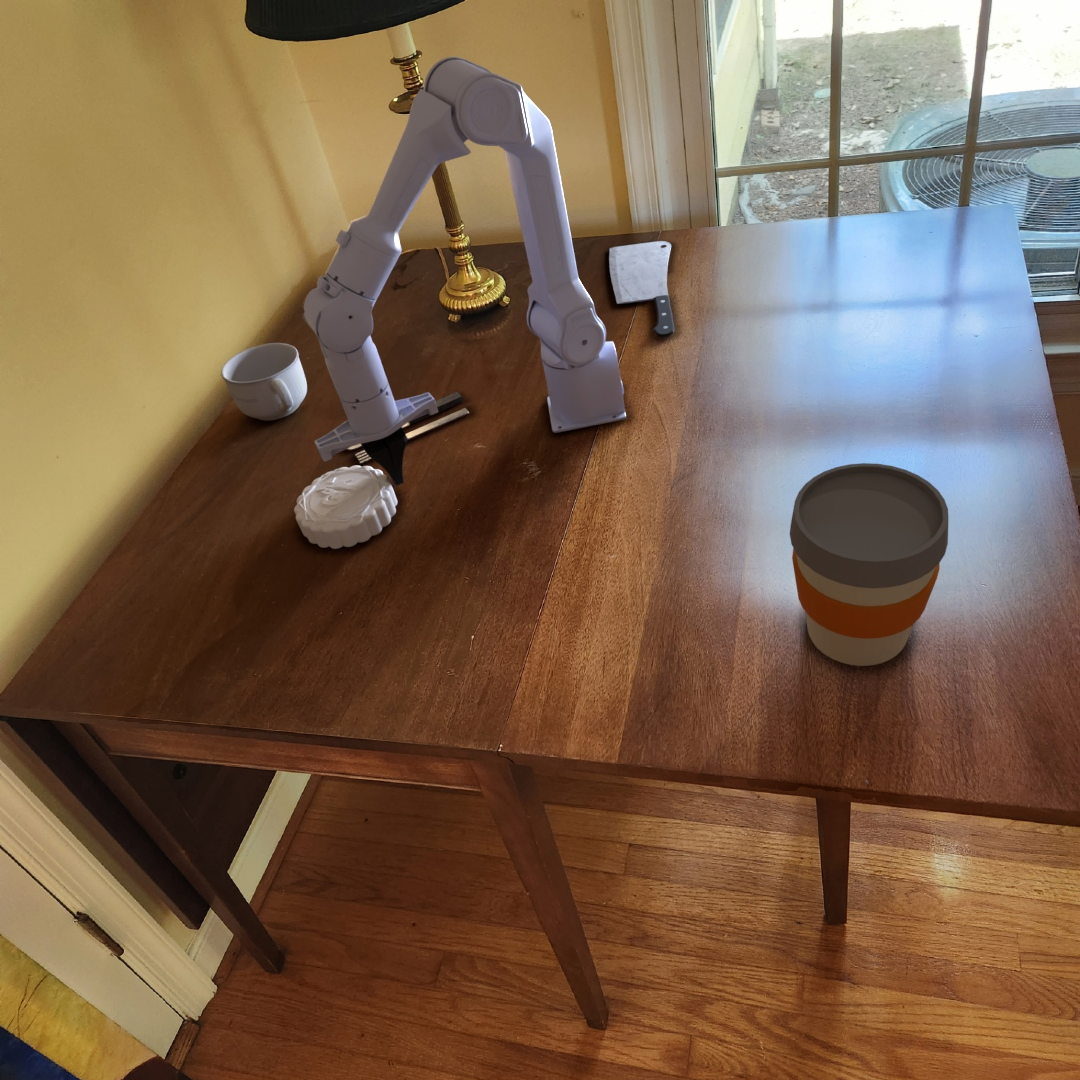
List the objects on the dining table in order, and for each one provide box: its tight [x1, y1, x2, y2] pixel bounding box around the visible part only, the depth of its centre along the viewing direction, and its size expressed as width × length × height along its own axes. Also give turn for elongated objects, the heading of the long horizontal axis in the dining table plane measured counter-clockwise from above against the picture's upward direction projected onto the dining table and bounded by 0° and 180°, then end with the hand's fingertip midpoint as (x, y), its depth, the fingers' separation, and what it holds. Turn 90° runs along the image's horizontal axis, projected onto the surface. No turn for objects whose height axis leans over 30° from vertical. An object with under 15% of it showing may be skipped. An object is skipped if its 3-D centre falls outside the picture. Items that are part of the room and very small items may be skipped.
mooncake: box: [293, 464, 398, 550], centre depth 108 cm, size 12×12×4 cm
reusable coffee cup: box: [789, 462, 949, 667], centre depth 79 cm, size 13×12×15 cm
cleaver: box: [608, 240, 676, 338], centre depth 136 cm, size 29×1×10 cm
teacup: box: [220, 342, 308, 421], centre depth 126 cm, size 14×11×8 cm
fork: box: [354, 407, 470, 466], centre depth 119 cm, size 16×2×1 cm, turn 117°
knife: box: [346, 391, 464, 452], centre depth 121 cm, size 17×2×1 cm, turn 117°
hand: (397, 480), depth 109 cm, fingers closed
